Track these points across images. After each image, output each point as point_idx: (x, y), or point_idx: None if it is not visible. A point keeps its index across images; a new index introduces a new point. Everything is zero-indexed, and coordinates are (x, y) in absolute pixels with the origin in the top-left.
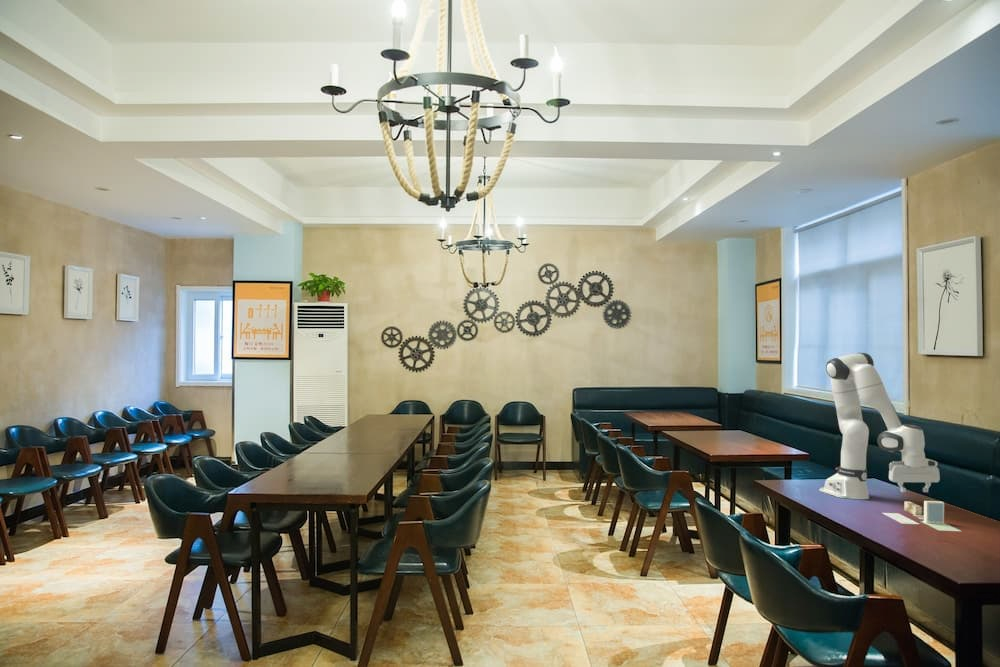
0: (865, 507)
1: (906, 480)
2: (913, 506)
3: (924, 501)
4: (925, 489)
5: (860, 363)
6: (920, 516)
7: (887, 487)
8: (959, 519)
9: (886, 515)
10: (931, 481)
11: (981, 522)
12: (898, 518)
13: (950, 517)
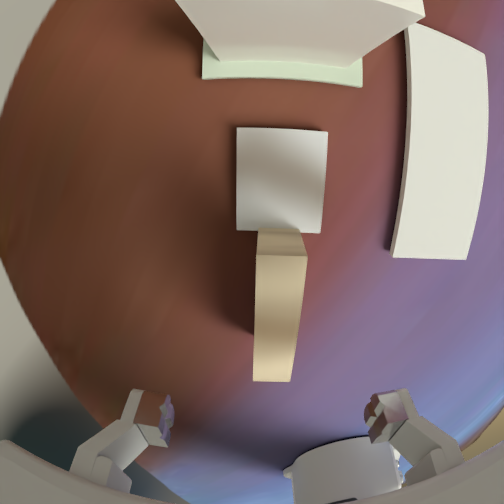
0: (429, 360)
1: (431, 499)
2: (302, 285)
3: (419, 11)
4: (153, 415)
5: None
6: (285, 197)
7: (176, 487)
8: (57, 207)
9: (475, 214)
10: (56, 477)
11: (4, 175)
12: (465, 140)
13: (83, 241)
